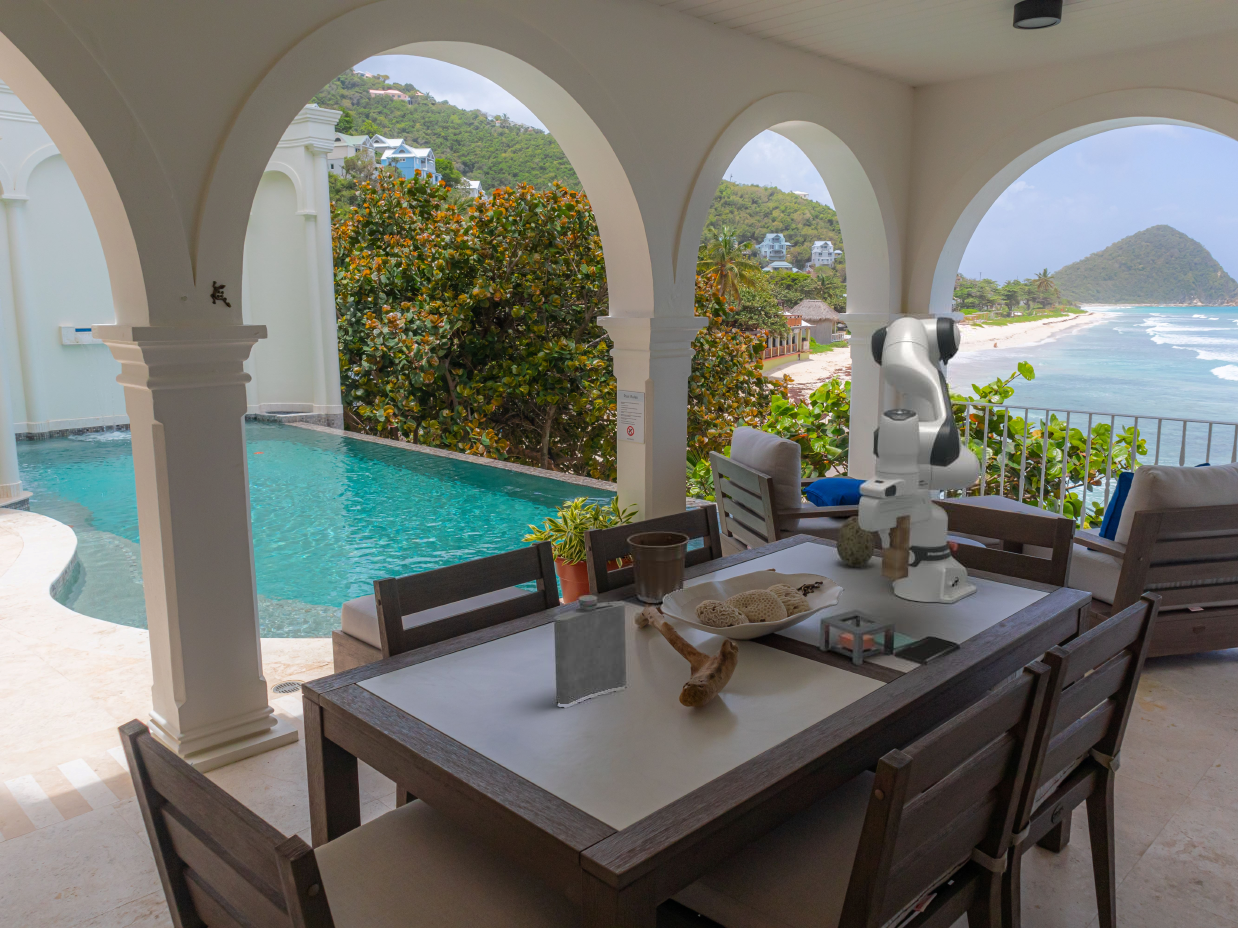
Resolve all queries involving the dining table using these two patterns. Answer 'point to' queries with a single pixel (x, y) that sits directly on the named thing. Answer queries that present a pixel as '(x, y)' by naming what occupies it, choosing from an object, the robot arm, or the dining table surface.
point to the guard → (857, 633)
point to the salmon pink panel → (847, 641)
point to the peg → (897, 551)
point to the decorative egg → (855, 543)
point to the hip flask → (589, 649)
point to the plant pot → (658, 562)
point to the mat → (895, 640)
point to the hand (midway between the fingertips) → (895, 545)
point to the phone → (927, 650)
